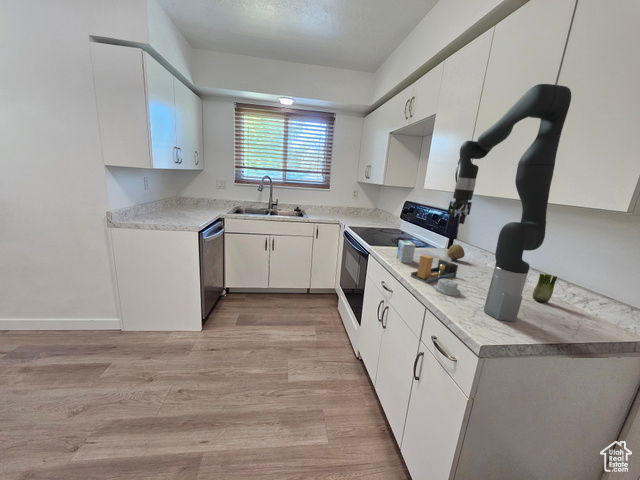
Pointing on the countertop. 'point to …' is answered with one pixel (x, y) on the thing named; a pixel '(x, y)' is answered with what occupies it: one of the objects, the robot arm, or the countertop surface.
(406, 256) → the light bulb box
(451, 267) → the keeper
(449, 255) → the natural sponge
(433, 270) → the dark grey tray
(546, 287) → the fennel bulb
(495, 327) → the countertop surface
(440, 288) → the mechanical component
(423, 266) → the orange block
